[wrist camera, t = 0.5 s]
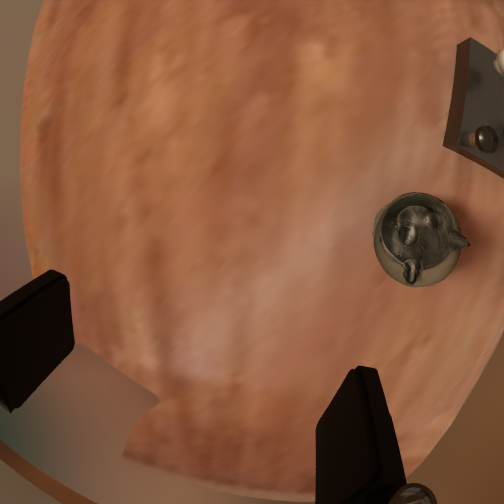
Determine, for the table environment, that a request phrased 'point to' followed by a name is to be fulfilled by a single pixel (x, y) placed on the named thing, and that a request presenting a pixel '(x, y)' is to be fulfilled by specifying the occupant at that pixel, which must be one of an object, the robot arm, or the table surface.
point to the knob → (499, 63)
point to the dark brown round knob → (482, 139)
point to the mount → (476, 103)
